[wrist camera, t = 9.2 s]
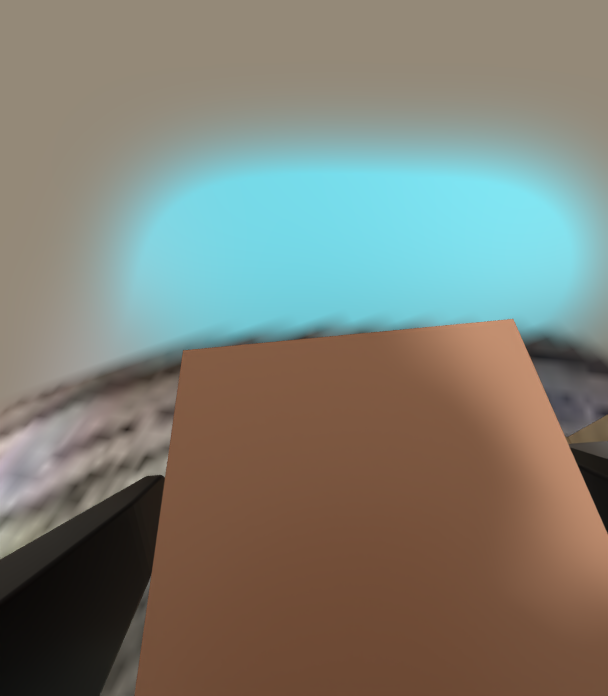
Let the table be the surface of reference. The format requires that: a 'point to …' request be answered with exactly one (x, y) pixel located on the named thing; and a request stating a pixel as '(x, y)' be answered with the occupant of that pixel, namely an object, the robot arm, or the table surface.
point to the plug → (374, 525)
